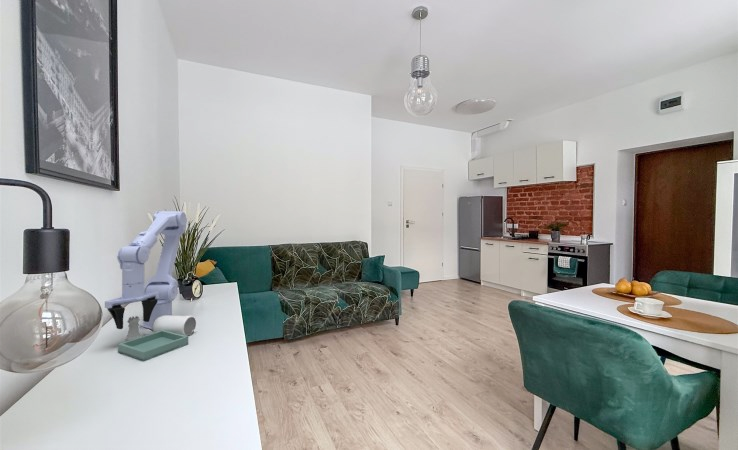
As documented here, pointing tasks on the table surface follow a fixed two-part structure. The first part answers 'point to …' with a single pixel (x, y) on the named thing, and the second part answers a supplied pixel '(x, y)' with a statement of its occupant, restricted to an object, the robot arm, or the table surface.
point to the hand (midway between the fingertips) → (133, 324)
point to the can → (175, 324)
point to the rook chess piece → (133, 329)
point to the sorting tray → (152, 345)
